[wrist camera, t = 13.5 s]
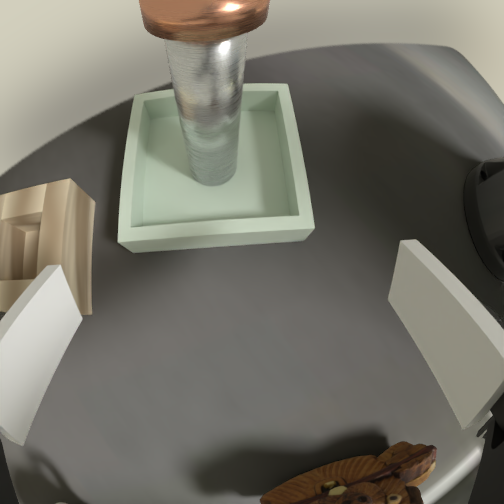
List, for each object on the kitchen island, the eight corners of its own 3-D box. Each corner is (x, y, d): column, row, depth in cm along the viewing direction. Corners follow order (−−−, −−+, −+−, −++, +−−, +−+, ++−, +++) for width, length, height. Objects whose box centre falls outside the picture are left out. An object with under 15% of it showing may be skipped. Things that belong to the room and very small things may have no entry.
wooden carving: (405, 415, 21) (475, 448, 11) (411, 450, 20) (473, 488, 10) (233, 483, 19) (235, 558, 9) (249, 516, 18) (258, 588, 8)
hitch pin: (243, 137, 25) (263, -34, 9) (248, 193, 24) (281, 10, 8) (181, 141, 24) (150, -27, 8) (180, 197, 23) (125, 20, 7)
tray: (282, 107, 27) (287, 83, 23) (303, 241, 24) (314, 228, 20) (143, 117, 26) (134, 94, 22) (133, 252, 23) (117, 242, 19)
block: (95, 201, 23) (70, 178, 19) (92, 314, 21) (61, 312, 16) (19, 215, 23) (-10, 198, 18) (12, 312, 21) (-21, 309, 16)
